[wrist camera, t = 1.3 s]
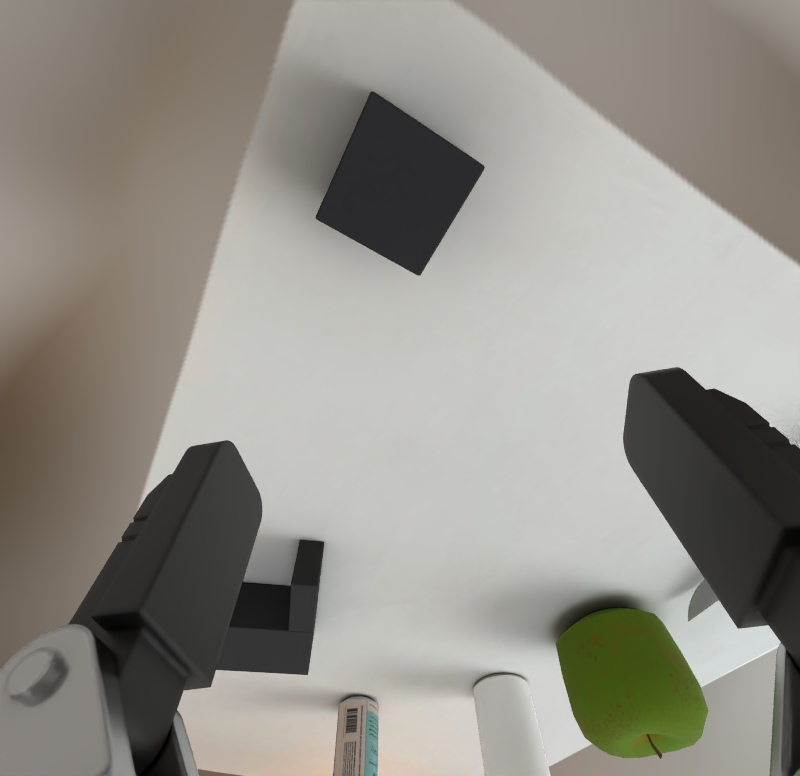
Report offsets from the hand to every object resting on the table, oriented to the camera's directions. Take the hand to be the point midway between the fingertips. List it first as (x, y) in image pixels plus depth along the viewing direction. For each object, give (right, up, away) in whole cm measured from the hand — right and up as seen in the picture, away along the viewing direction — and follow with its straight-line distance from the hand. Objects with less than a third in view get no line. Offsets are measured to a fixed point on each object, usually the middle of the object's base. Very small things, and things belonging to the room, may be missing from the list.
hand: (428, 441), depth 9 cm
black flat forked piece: (-13, -17, +31) cm, 37 cm away
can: (+11, -33, +42) cm, 55 cm away
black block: (-1, +11, +13) cm, 17 cm away
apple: (+20, -23, +35) cm, 46 cm away
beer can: (-6, -37, +44) cm, 57 cm away
